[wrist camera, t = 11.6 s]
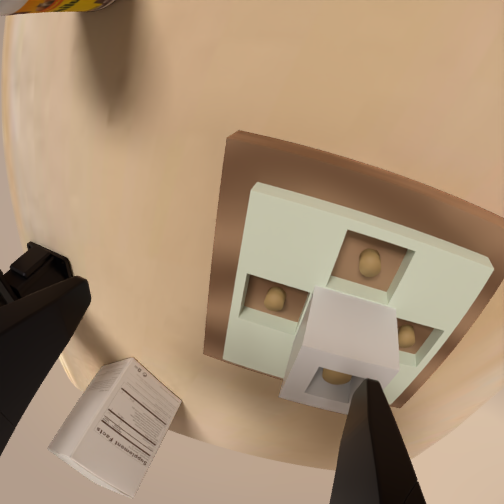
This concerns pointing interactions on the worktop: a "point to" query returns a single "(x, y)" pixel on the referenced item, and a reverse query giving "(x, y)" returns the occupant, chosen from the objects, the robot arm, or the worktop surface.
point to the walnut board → (354, 244)
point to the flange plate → (342, 299)
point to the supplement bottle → (50, 6)
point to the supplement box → (117, 426)
